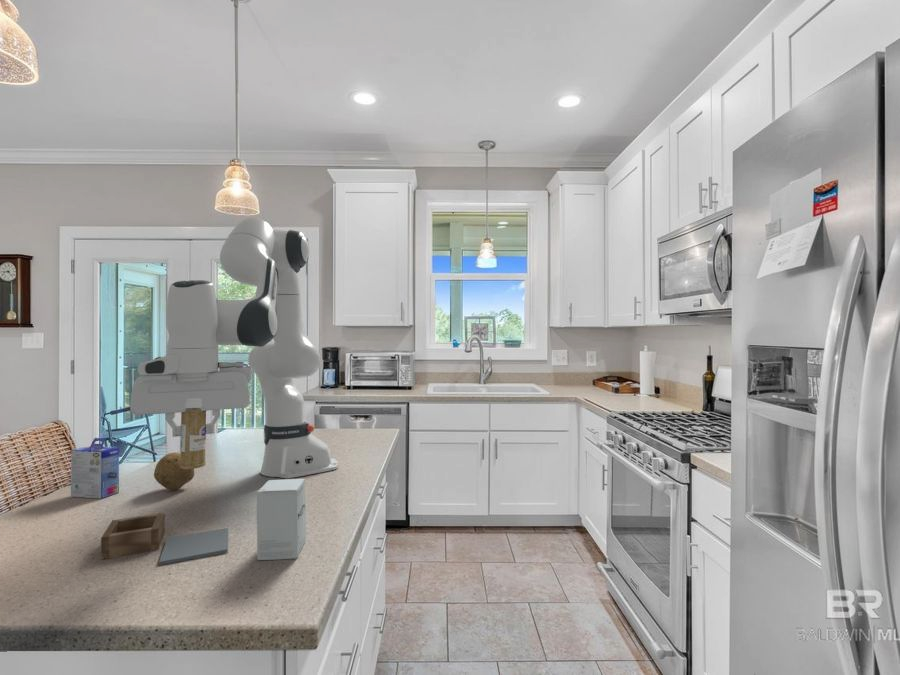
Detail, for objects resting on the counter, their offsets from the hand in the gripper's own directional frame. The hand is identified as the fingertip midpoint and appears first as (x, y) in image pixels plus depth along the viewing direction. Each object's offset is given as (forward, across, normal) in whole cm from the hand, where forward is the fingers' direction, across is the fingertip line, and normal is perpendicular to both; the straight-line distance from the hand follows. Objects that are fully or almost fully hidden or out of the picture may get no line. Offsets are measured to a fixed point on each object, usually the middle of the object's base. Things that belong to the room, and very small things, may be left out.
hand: (194, 434), depth 91 cm
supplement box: (+22, -15, +10) cm, 28 cm away
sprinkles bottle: (+6, 0, 0) cm, 6 cm away
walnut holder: (+22, +11, -6) cm, 25 cm away
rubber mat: (+22, 0, 0) cm, 22 cm away
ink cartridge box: (+22, +26, -46) cm, 58 cm away
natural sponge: (+22, +8, -42) cm, 48 cm away
